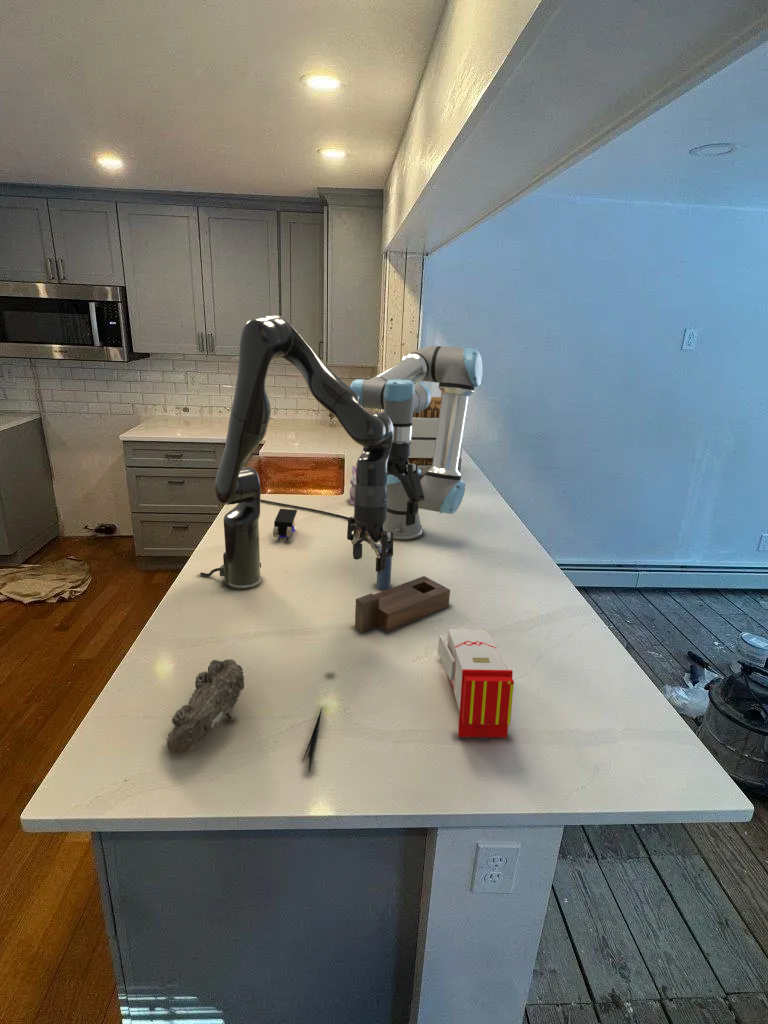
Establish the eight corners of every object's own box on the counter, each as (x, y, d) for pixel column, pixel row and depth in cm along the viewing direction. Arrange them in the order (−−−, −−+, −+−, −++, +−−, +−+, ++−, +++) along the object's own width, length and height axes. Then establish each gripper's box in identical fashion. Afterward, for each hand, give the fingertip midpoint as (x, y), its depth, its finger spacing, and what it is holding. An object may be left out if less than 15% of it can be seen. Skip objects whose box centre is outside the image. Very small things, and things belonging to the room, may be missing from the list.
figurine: (353, 507, 224) (354, 470, 219) (343, 499, 232) (343, 463, 227) (374, 504, 228) (376, 468, 223) (364, 496, 237) (365, 462, 231)
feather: (331, 679, 122) (336, 673, 122) (307, 777, 96) (313, 769, 95) (324, 675, 122) (329, 669, 121) (298, 772, 95) (304, 764, 95)
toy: (488, 613, 130) (523, 677, 101) (484, 667, 133) (517, 744, 104) (435, 612, 130) (455, 676, 101) (432, 666, 133) (451, 743, 103)
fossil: (192, 660, 117) (244, 628, 112) (224, 691, 120) (276, 661, 115) (142, 746, 98) (202, 712, 93) (182, 779, 101) (242, 748, 96)
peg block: (346, 621, 143) (346, 593, 140) (422, 591, 160) (424, 566, 157) (371, 639, 136) (372, 609, 133) (448, 606, 153) (451, 579, 150)
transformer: (382, 463, 289) (386, 382, 275) (445, 464, 293) (451, 384, 279) (390, 482, 257) (394, 392, 243) (460, 483, 261) (468, 394, 247)
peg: (373, 585, 162) (375, 547, 158) (384, 582, 164) (385, 544, 160) (382, 591, 159) (384, 552, 155) (393, 587, 162) (395, 548, 157)
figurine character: (292, 547, 188) (298, 526, 201) (292, 527, 184) (297, 507, 198) (272, 547, 187) (279, 526, 201) (271, 526, 184) (278, 506, 197)
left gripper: (339, 495, 132) (338, 558, 138) (378, 512, 122) (375, 580, 128) (364, 490, 137) (362, 551, 142) (403, 506, 127) (400, 571, 132)
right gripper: (355, 433, 154) (352, 507, 161) (421, 452, 137) (415, 533, 144) (375, 430, 159) (372, 502, 166) (442, 448, 142) (435, 527, 149)
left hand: (368, 564), depth 135 cm, fingers open, 8 cm apart
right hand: (392, 517), depth 155 cm, fingers open, 13 cm apart
